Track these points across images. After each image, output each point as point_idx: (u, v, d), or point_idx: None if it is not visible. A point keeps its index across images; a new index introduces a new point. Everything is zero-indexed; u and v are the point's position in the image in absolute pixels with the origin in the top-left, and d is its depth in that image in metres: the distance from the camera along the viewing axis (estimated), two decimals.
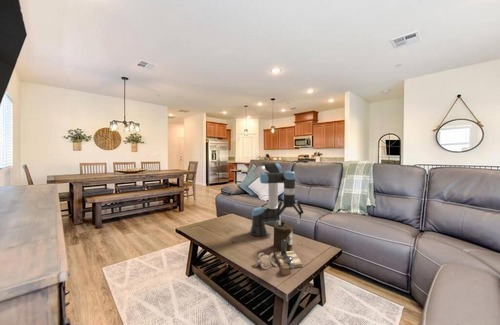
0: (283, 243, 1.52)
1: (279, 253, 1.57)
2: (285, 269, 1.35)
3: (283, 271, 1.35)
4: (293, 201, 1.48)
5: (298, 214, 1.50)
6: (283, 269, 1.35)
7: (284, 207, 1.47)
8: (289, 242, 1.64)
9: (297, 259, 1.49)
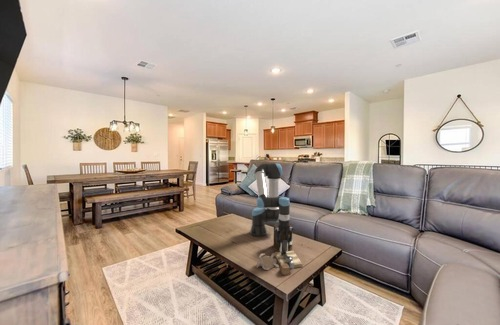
0: (283, 243, 1.52)
1: (279, 253, 1.57)
2: (285, 269, 1.35)
3: (283, 271, 1.35)
4: (288, 226, 1.53)
5: None
6: (283, 269, 1.35)
7: (281, 233, 1.52)
8: None
9: (297, 259, 1.49)
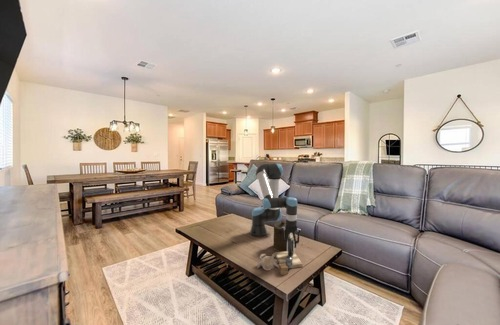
0: (289, 243, 1.53)
1: (279, 253, 1.57)
2: (283, 269, 1.35)
3: (281, 271, 1.35)
4: (295, 227, 1.51)
5: (293, 243, 1.53)
6: (281, 269, 1.35)
7: (287, 233, 1.52)
8: None
9: (297, 259, 1.49)
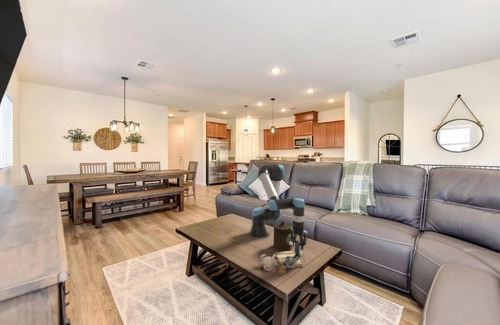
0: (295, 244, 1.51)
1: (279, 253, 1.57)
2: (282, 269, 1.35)
3: (280, 271, 1.35)
4: (301, 229, 1.48)
5: (300, 245, 1.50)
6: (280, 269, 1.35)
7: (294, 234, 1.51)
8: (289, 242, 1.64)
9: (297, 259, 1.49)
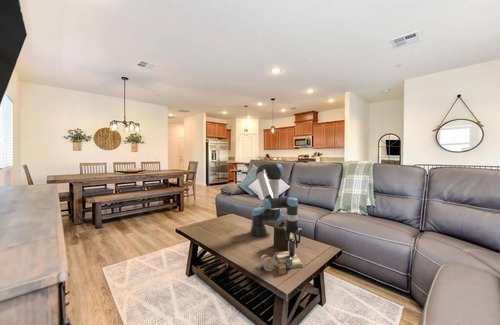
0: (290, 243, 1.52)
1: (279, 253, 1.57)
2: (282, 269, 1.35)
3: (280, 271, 1.35)
4: (296, 227, 1.51)
5: (295, 243, 1.52)
6: (280, 269, 1.35)
7: (288, 233, 1.52)
8: None
9: (297, 259, 1.49)
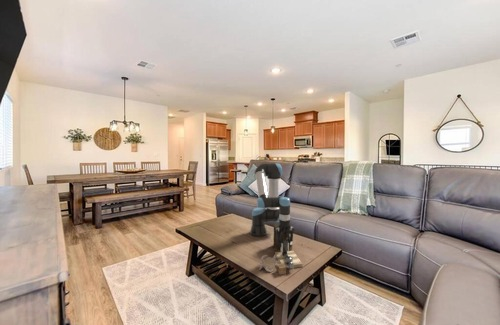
0: (284, 243, 1.53)
1: (279, 253, 1.57)
2: (282, 269, 1.35)
3: (280, 271, 1.35)
4: (289, 226, 1.53)
5: (287, 242, 1.54)
6: (280, 269, 1.35)
7: (282, 234, 1.52)
8: None
9: (297, 259, 1.49)
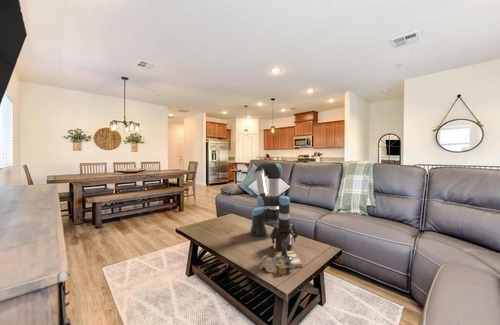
0: (283, 243, 1.53)
1: (279, 253, 1.57)
2: (282, 269, 1.35)
3: (280, 271, 1.35)
4: (288, 225, 1.53)
5: (293, 237, 1.54)
6: (280, 269, 1.35)
7: (279, 231, 1.51)
8: (289, 242, 1.64)
9: (297, 259, 1.49)
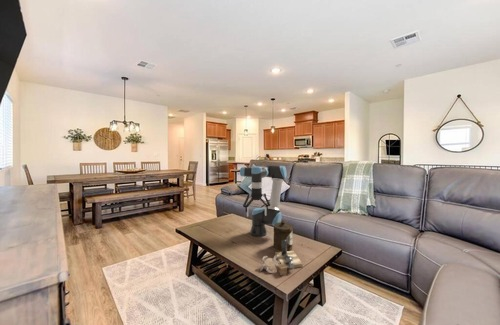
0: (283, 243, 1.53)
1: (279, 253, 1.57)
2: (283, 270, 1.35)
3: (281, 272, 1.34)
4: (260, 194, 1.58)
5: (265, 206, 1.60)
6: (281, 270, 1.34)
7: (251, 200, 1.57)
8: (289, 242, 1.64)
9: (297, 259, 1.49)
